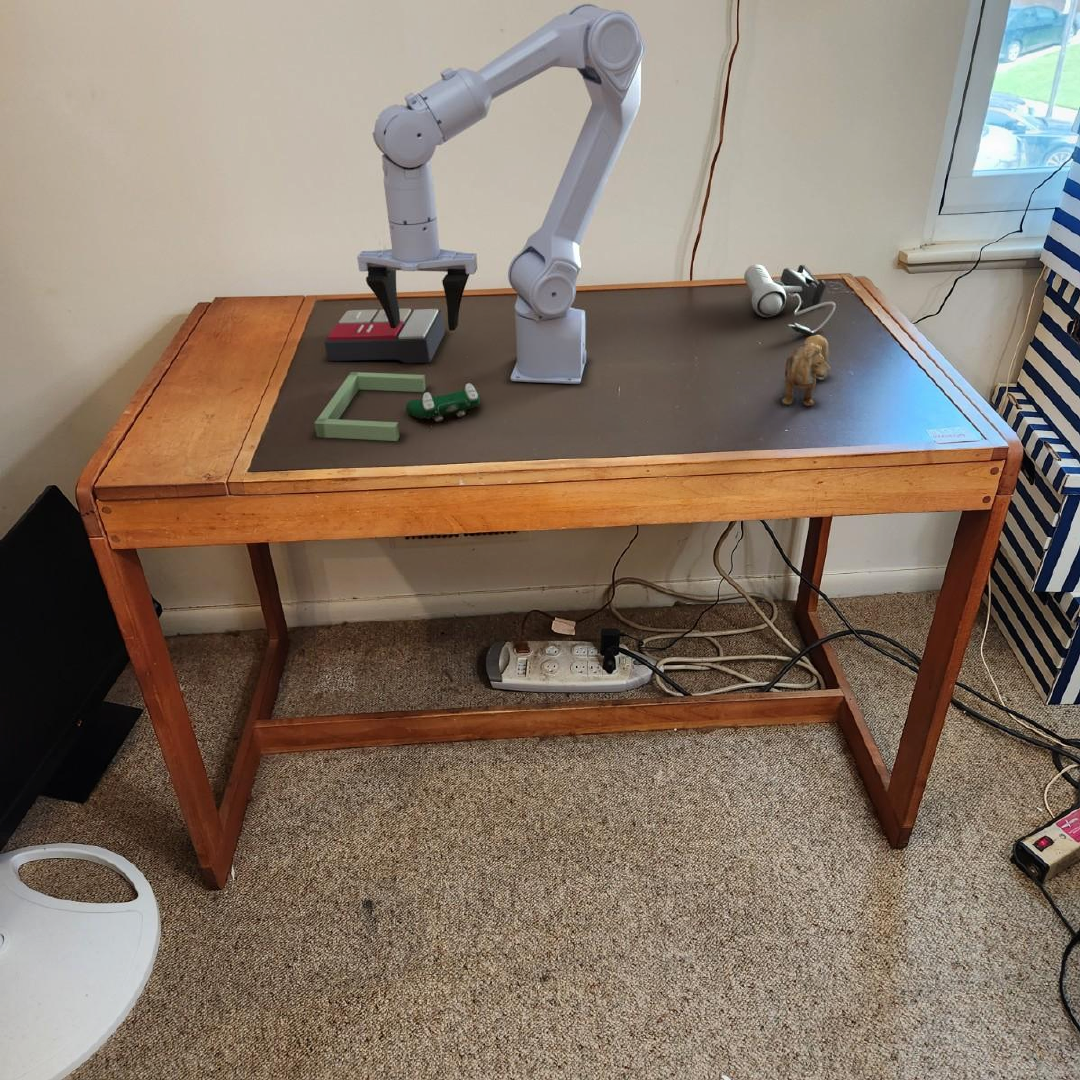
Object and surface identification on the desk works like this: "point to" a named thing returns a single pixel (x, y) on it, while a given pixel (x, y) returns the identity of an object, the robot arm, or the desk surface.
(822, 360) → the lion figurine
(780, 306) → the clip-on lamp
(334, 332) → the calculator
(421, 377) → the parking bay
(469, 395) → the gaming controller
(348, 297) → the desk surface
